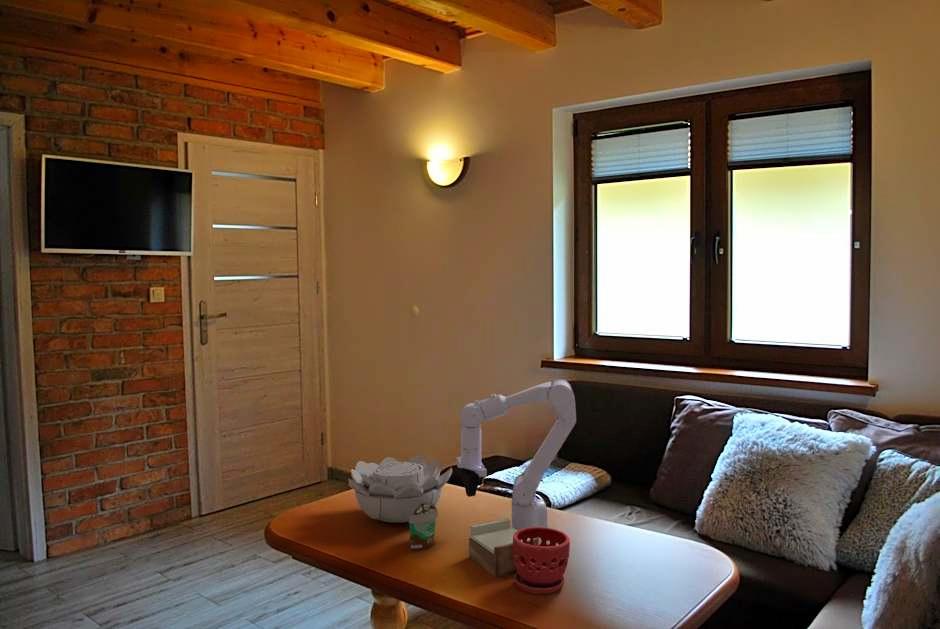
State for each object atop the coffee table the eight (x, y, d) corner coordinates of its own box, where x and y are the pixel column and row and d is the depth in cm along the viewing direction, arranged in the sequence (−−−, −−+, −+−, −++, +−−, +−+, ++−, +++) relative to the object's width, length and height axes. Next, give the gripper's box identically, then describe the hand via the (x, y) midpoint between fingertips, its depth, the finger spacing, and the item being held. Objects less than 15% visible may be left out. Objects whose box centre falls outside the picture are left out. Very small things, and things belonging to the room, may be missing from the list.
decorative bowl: (393, 495, 241) (392, 449, 240) (467, 512, 223) (466, 463, 222) (323, 522, 216) (322, 472, 215) (401, 544, 199) (399, 489, 198)
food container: (432, 554, 191) (431, 516, 191) (409, 553, 193) (408, 515, 192) (443, 537, 203) (442, 501, 203) (421, 535, 205) (421, 500, 204)
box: (509, 548, 195) (509, 521, 194) (538, 567, 182) (538, 538, 182) (469, 557, 189) (468, 529, 189) (496, 577, 177) (495, 548, 176)
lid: (509, 528, 194) (509, 518, 194) (535, 544, 183) (535, 533, 183) (469, 537, 189) (469, 526, 189) (493, 554, 178) (493, 542, 177)
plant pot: (529, 603, 163) (529, 550, 163) (503, 580, 176) (503, 530, 175) (580, 591, 169) (580, 540, 168) (551, 570, 181) (551, 522, 180)
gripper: (446, 443, 210) (446, 490, 211) (470, 455, 197) (470, 505, 198) (468, 440, 213) (468, 486, 214) (493, 452, 200) (493, 501, 201)
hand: (471, 495), depth 206 cm, fingers closed
